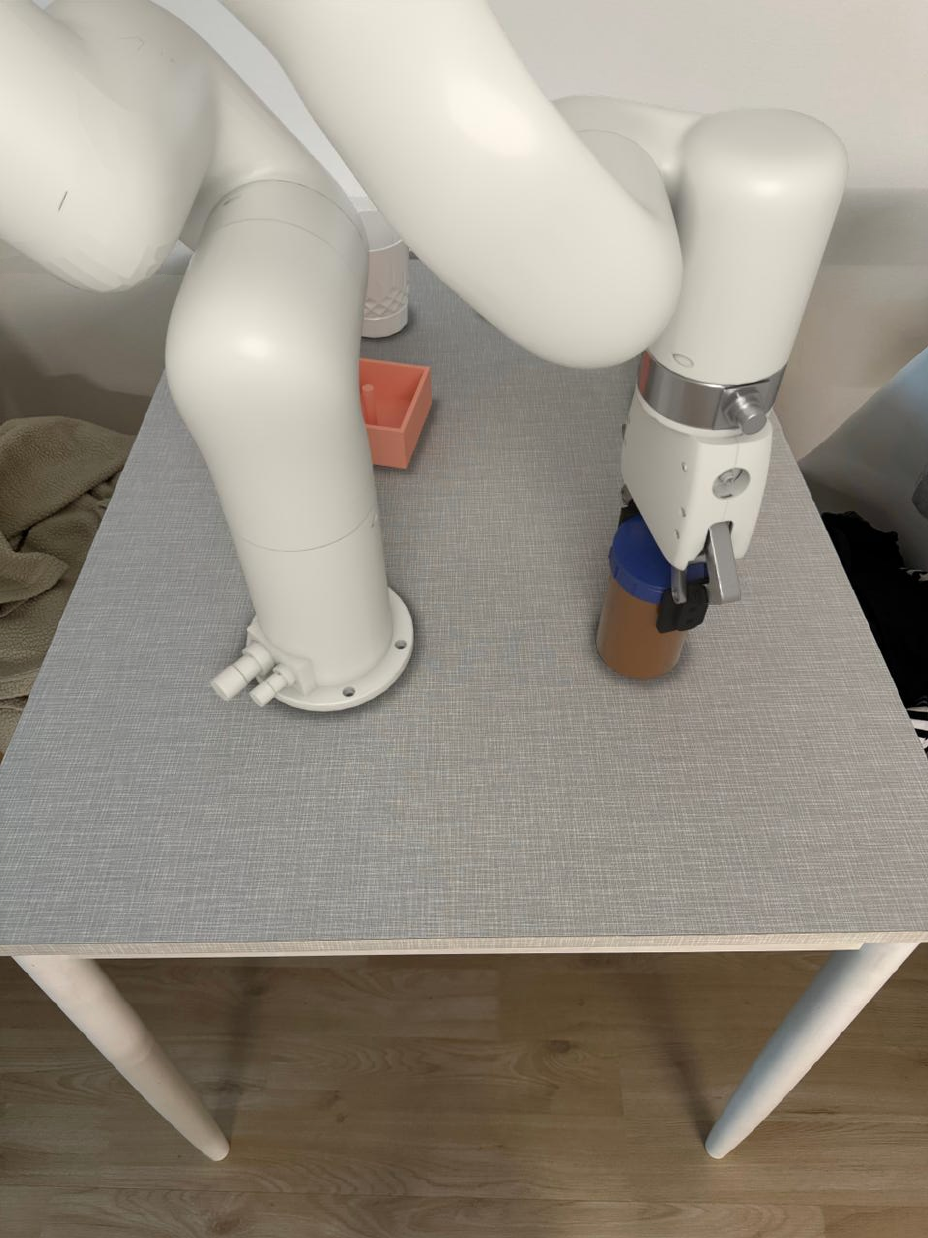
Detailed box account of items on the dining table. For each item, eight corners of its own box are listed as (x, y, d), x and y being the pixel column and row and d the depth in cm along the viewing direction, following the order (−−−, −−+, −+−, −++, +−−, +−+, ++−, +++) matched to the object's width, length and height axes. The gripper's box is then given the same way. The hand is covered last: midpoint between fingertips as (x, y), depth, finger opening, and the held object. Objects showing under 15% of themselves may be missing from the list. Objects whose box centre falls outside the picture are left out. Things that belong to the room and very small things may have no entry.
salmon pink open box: (432, 403, 85) (427, 313, 77) (406, 469, 79) (399, 378, 71) (256, 379, 87) (235, 289, 79) (220, 440, 81) (193, 350, 74)
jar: (650, 694, 64) (678, 605, 56) (579, 648, 67) (595, 557, 58) (696, 640, 67) (728, 549, 59) (626, 598, 70) (648, 505, 61)
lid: (697, 526, 62) (703, 509, 61) (723, 602, 58) (730, 585, 56) (600, 531, 61) (603, 514, 60) (619, 608, 57) (623, 591, 56)
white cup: (329, 309, 94) (316, 219, 86) (397, 292, 96) (390, 202, 88) (355, 349, 90) (344, 258, 82) (425, 330, 92) (421, 239, 84)
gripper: (856, 464, 42) (762, 672, 56) (706, 275, 53) (659, 490, 67) (712, 493, 41) (653, 697, 55) (588, 294, 52) (565, 508, 66)
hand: (657, 582), depth 61 cm, fingers closed on lid, 7 cm apart
